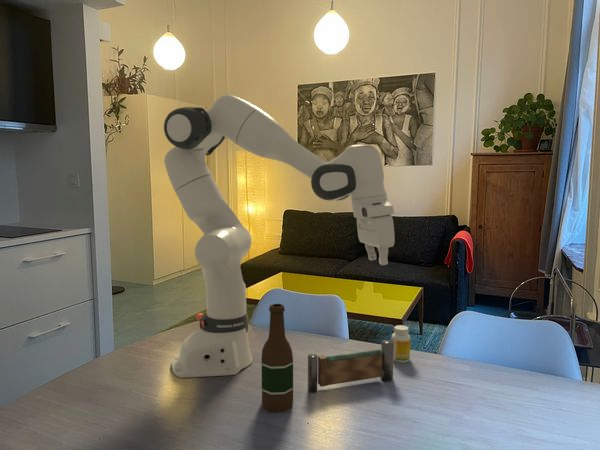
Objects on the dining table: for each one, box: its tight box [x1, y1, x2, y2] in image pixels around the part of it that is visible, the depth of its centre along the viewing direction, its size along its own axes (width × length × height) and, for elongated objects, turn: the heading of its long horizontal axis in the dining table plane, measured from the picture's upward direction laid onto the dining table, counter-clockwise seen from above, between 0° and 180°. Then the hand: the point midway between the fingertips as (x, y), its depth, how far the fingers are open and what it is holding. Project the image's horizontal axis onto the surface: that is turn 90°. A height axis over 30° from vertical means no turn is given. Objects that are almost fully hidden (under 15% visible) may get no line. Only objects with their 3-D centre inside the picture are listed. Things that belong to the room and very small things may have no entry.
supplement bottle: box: [390, 324, 411, 364], centre depth 133 cm, size 5×5×10 cm
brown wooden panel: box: [317, 348, 382, 387], centre depth 117 cm, size 17×2×7 cm, turn 108°
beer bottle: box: [261, 303, 294, 414], centre depth 106 cm, size 8×8×24 cm
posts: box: [307, 339, 394, 394], centre depth 117 cm, size 24×3×10 cm, turn 108°
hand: (378, 262), depth 116 cm, fingers open, 8 cm apart
